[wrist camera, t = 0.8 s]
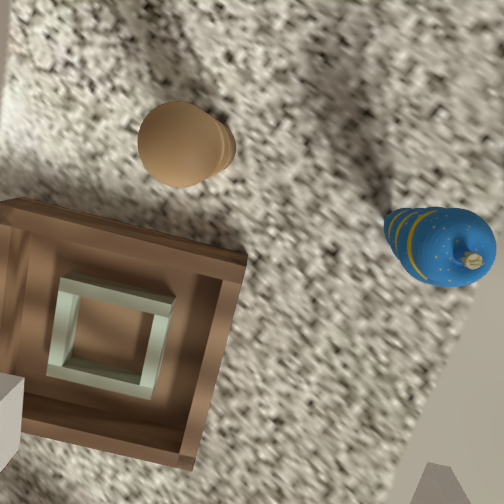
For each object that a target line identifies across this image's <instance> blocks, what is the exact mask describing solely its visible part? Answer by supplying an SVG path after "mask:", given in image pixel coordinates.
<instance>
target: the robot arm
mask: <svg viewBox="0 0 504 504" xmlns="http://www.w3.org/2000/svg"><path fill="white" fill-rule="evenodd" d="M23 393H24V377H20V376H15V375H10V374H5V373H1V372H0V472H1V471H2V470H3V468H4V467H5V466H6V465H7V463H8V462H9V461H10V460H11V458H12V457H13V456H14V454H15V453H16V452H17V451H18V449H19V448H20V435H21V421H22V407H23ZM410 504H471V503H470V501H469V499H468V498H467V496H466V494H465V492H464V491H463V489H462V487H461V485H460V483H459V481H458V480H457V478H456V476H455V474H454V473H453V471H452V469H451V467H448V466H443V465H438V464H434V463H429V462H428V463H427V465H426V467H425V469H424V472H423V474H422V477H421V479H420V482H419V484H418V486H417V488H416V491H415V493H414V496H413V498H412V501H411V503H410Z"/></svg>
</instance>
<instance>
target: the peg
mask: <svg viewBox="0 0 504 504" xmlns="http://www.w3.org/2000/svg"><path fill="white" fill-rule="evenodd" d="M138 152H139V155H140V158H141V161H142V163H143V165H144V166H145V168H146V169H147V171H148V172H149V173H150V174H151V175H152V176H153V177H154V178H155V179H157V180H158V181H160V182H162V183H164V184H166V185H169V186H174V187H188V186H192V185H195V184H197V183H199V182H201V181H203V180H205V179H207V178H209V177H211V176H213V175H214V174H216V173H218V172H220V171H222V170H224V169H225V168H227V167H228V166H229V165H230V164H231V162H232V161H233V159H234V156H235V153H236V142H235V139H234V136H233V134H232V132H231V131H230V130H229V129H228V128H227V127H226V126H225V125H223V124H222V123H221V122H219V121H218V120H216V119H215V118H213V117H212V116H210V115H209V114H207V113H206V112H204V111H203V110H201V109H200V108H198V107H197V106H195V105H193V104H190V103H186V102H178V101H176V102H168V103H165V104H162V105H160V106H158V107H156V108H155V109H153V110H152V111H151V112H150V113H149V114H148V115H147V116H146V118H145V119H144V121H143V123H142V124H141V127H140V130H139V134H138Z"/></svg>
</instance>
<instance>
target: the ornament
mask: <svg viewBox="0 0 504 504" xmlns="http://www.w3.org/2000/svg"><path fill="white" fill-rule="evenodd" d="M384 233H385V237H386V240H387V241H388V243H389V244H390V246H391V249H392V251H393V253H394V255H395V256H396V257H397V258H398V259H399V260H400V262H401V264H402V265H403V267H404V268H405V269H406V271H407V272H408V273H409V274H410V275H411V276H413V277H414V278H416V279H417V280H420V281H422V282H424V283H428V284H431V285H435V286H443V287H459V286H465V285H468V284H471V283H474V282H476V281H478V280H479V279H481V278H482V277H483V276H484V275H486V273H487V272H488V271H489V270H490V268H491V267H492V265H493V263H494V260H495V256H496V241H495V237H494V235H493V232H492V230H491V228H490V227H489V226H488V224H487V223H486V222H485V221H484V220H483V219H482V218H481V217H480V216H478V215H476V214H475V213H473V212H471V211H469V210H465V209H460V208H443V207H428V208H414V209H411V208H401V209H397V210H395V211H393V212H392V213H390V214H389V215H387V216H386V217H385V218H384Z"/></svg>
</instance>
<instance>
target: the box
mask: <svg viewBox="0 0 504 504" xmlns="http://www.w3.org/2000/svg"><path fill="white" fill-rule="evenodd" d="M247 258H248V255H247V254H243V253H239V252H235V251H231V250H228V249H224V248H220V247H216V246H212V245H208V244H204V243H200V242H196V241H192V240H188V239H184V238H181V237H177V236H173V235H169V234H165V233H161V232H157V231H153V230H149V229H145V228H141V227H137V226H133V225H130V224H126V223H122V222H118V221H114V220H110V219H106V218H102V217H98V216H94V215H90V214H86V213H82V212H79V211H75V210H71V209H67V208H63V207H59V206H55V205H51V204H47V203H43V202H39V201H35V200H31V199H28V198H24V197H21V198H16V199H10V200H5V201H0V372H1V373H5V374H10V375H15V376H20V377H24V393H23V407H22V421H21V432H23V433H28V434H32V435H36V436H41V437H45V438H49V439H54V440H58V441H62V442H67V443H71V444H75V445H80V446H84V447H88V448H93V449H97V450H101V451H106V452H110V453H114V454H119V455H123V456H127V457H132V458H136V459H140V460H145V461H149V462H153V463H158V464H162V465H166V466H171V467H175V468H179V469H184V470H188V471H192V470H193V466H194V462H195V459H196V455H197V451H198V447H199V444H200V440H201V436H202V432H203V429H204V425H205V421H206V417H207V413H208V410H209V406H210V402H211V398H212V395H213V391H214V387H215V383H216V380H217V376H218V372H219V368H220V364H221V361H222V357H223V353H224V349H225V346H226V342H227V338H228V334H229V331H230V327H231V323H232V319H233V315H234V312H235V308H236V304H237V300H238V297H239V293H240V289H241V285H242V281H243V278H244V274H245V270H246V266H247Z"/></svg>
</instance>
